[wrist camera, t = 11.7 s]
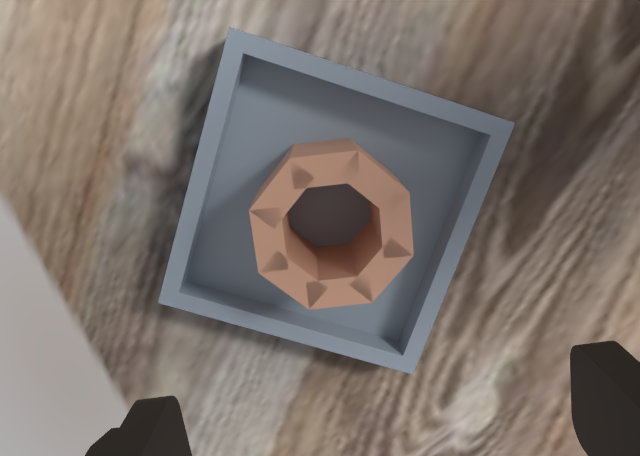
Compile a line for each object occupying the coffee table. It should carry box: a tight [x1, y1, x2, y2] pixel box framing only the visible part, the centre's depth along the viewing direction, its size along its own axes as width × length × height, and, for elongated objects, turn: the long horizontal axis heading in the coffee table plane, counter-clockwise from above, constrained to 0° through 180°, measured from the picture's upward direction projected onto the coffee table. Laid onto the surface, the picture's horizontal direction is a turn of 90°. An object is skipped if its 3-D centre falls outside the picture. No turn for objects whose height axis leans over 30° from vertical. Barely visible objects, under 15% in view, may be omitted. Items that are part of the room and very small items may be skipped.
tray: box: [158, 27, 515, 374], centre depth 25 cm, size 13×13×2 cm
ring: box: [249, 138, 414, 310], centre depth 23 cm, size 6×6×4 cm
